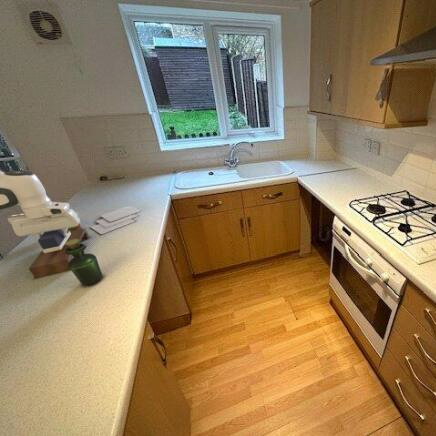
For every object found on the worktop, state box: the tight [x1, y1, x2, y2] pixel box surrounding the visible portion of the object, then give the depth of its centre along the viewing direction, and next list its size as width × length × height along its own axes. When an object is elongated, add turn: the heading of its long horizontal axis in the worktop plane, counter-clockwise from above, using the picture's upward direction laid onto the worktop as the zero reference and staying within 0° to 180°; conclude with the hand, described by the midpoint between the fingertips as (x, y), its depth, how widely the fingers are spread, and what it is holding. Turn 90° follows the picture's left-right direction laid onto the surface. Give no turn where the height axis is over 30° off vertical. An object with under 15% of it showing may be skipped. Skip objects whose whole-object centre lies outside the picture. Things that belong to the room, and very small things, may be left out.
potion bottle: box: [65, 239, 104, 287], centre depth 88 cm, size 8×8×18 cm
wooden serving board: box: [28, 228, 90, 279], centre depth 106 cm, size 12×28×5 cm, turn 26°
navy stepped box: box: [37, 229, 71, 253], centre depth 103 cm, size 14×6×6 cm, turn 26°
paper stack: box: [90, 205, 141, 235], centre depth 137 cm, size 23×25×1 cm
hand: (56, 238), depth 103 cm, fingers closed on navy stepped box, 5 cm apart
